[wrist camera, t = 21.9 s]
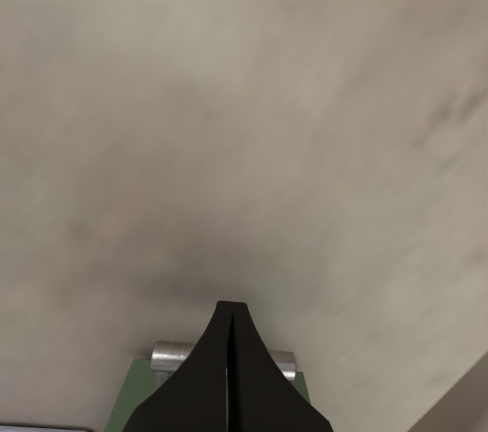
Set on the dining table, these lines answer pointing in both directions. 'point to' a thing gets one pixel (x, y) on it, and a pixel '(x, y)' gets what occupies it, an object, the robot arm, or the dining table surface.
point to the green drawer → (165, 364)
